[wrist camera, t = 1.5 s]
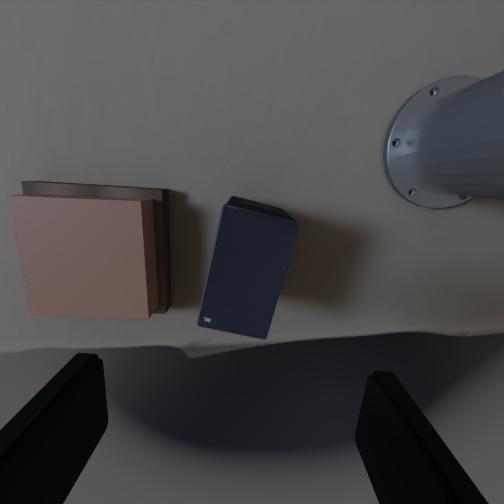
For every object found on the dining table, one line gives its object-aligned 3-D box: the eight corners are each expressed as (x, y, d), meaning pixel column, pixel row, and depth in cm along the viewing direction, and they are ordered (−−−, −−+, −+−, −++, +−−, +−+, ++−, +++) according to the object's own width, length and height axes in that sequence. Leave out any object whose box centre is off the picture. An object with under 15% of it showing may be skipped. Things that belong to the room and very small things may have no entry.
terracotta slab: (152, 198, 27) (140, 201, 24) (158, 305, 30) (148, 319, 27) (33, 193, 27) (7, 195, 24) (52, 301, 30) (31, 314, 27)
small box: (262, 292, 32) (268, 344, 22) (210, 281, 32) (192, 328, 22) (286, 208, 30) (305, 224, 20) (229, 194, 29) (219, 202, 19)
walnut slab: (170, 188, 30) (161, 189, 27) (172, 302, 33) (165, 313, 30) (43, 181, 29) (21, 181, 26) (60, 296, 33) (42, 307, 30)
